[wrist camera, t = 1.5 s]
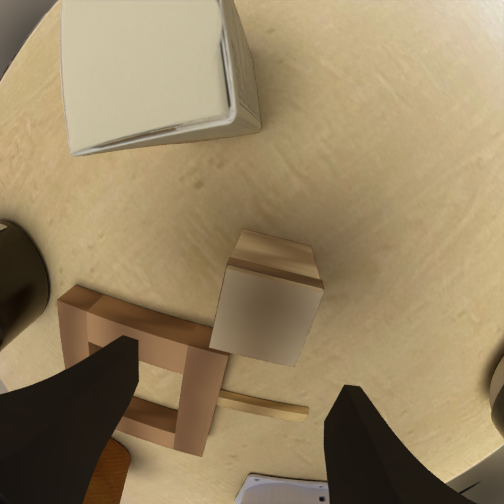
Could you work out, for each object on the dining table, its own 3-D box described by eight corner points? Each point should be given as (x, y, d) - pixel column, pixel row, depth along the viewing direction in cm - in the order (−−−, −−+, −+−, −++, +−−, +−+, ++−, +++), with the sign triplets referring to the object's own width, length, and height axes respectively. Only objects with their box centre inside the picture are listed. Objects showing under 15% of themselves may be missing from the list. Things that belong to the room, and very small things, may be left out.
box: (176, 61, 15) (58, -14, 5) (252, 48, 15) (213, -70, 4) (187, 148, 17) (64, 162, 6) (264, 137, 16) (239, 123, 6)
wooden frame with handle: (334, 355, 20) (339, 379, 18) (283, 450, 24) (282, 472, 22) (75, 284, 20) (57, 299, 18) (85, 394, 24) (74, 411, 22)
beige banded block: (311, 245, 18) (325, 292, 12) (291, 306, 20) (295, 368, 14) (242, 227, 18) (225, 267, 12) (227, 290, 20) (207, 347, 14)
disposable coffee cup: (56, 422, 27) (9, 492, 16) (104, 416, 25) (52, 508, 14) (108, 470, 30) (75, 539, 19) (161, 470, 28) (131, 556, 16)
